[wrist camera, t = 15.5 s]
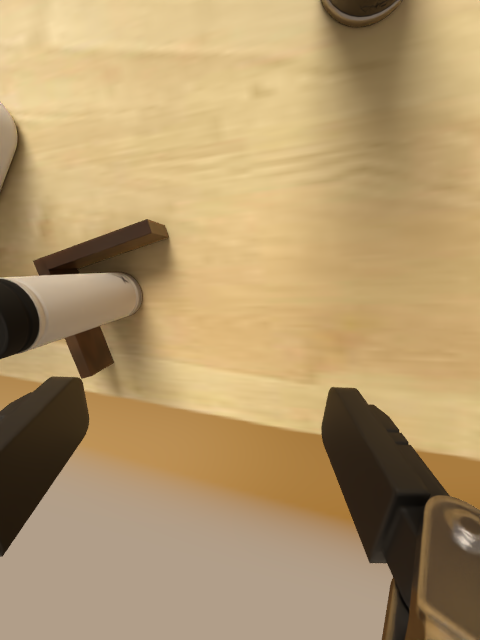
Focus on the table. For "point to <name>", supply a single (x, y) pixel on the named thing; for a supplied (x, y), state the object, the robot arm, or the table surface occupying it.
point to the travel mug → (61, 306)
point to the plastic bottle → (6, 141)
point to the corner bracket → (90, 343)
